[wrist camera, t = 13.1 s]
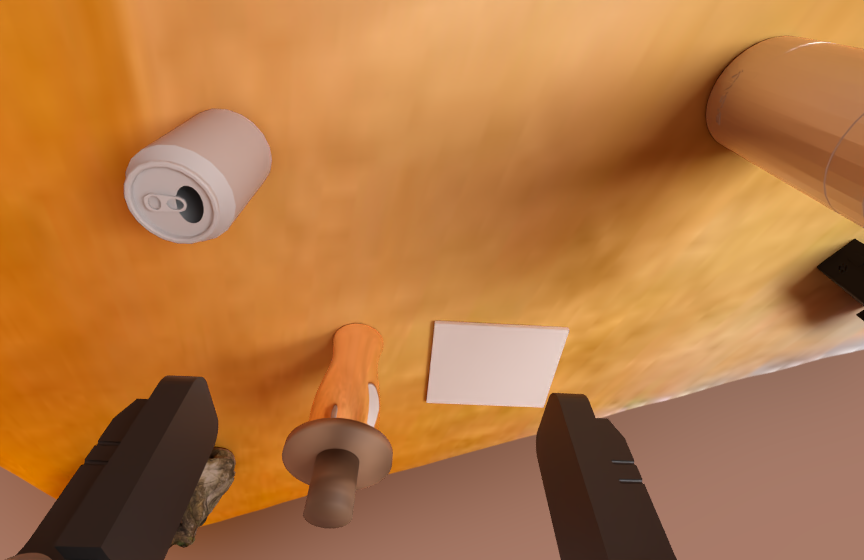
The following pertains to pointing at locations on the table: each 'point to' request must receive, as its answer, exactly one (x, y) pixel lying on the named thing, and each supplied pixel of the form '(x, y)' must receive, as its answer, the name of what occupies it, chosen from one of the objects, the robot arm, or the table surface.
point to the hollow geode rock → (206, 494)
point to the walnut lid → (336, 465)
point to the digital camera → (848, 270)
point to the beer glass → (351, 377)
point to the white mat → (493, 363)
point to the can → (197, 176)
